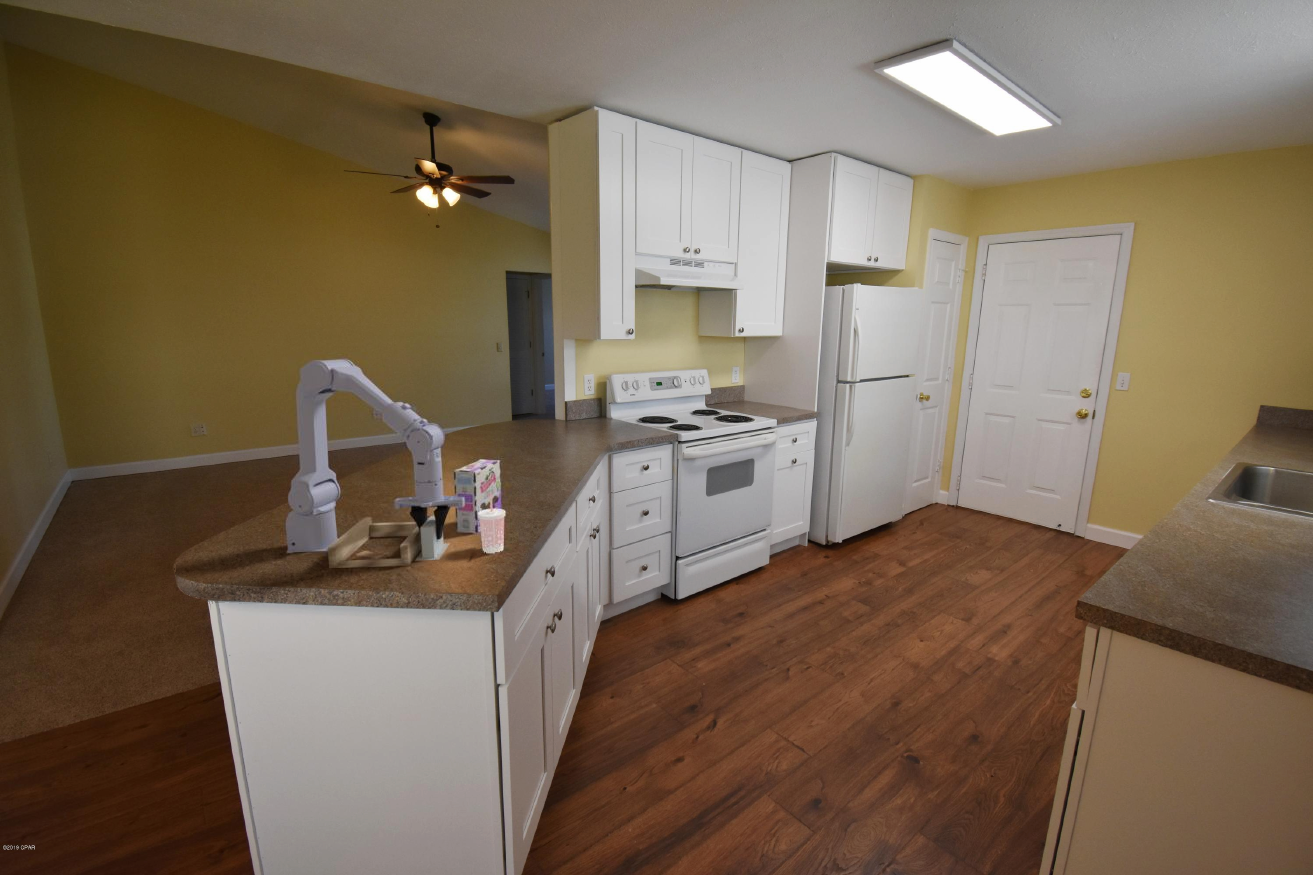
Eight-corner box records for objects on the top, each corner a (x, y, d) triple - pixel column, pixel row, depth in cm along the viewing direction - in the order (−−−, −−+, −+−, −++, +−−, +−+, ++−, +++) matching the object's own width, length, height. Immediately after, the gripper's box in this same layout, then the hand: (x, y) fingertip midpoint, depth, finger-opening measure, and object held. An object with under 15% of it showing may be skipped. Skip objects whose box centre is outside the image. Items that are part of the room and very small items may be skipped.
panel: (432, 544, 132) (430, 516, 131) (443, 544, 133) (441, 515, 131) (422, 558, 124) (420, 527, 123) (434, 557, 125) (432, 527, 124)
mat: (415, 562, 123) (414, 560, 123) (427, 546, 133) (427, 543, 133) (438, 562, 124) (438, 559, 124) (450, 545, 134) (449, 542, 134)
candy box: (477, 536, 140) (474, 471, 137) (455, 534, 141) (452, 469, 138) (503, 518, 154) (500, 459, 151) (483, 517, 155) (480, 458, 152)
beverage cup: (505, 543, 135) (503, 486, 133) (508, 552, 130) (506, 493, 127) (478, 546, 133) (475, 488, 131) (480, 556, 128) (477, 495, 125)
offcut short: (355, 559, 123) (355, 554, 123) (364, 555, 126) (364, 550, 125) (377, 563, 121) (377, 558, 121) (386, 559, 124) (386, 554, 124)
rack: (329, 570, 119) (327, 547, 118) (366, 536, 139) (364, 517, 138) (409, 567, 121) (407, 545, 120) (434, 535, 140) (433, 515, 140)
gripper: (388, 484, 121) (392, 545, 123) (458, 483, 122) (461, 543, 125) (398, 476, 128) (403, 534, 130) (465, 475, 129) (468, 532, 132)
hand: (432, 538), depth 128 cm, fingers closed on panel, 2 cm apart
